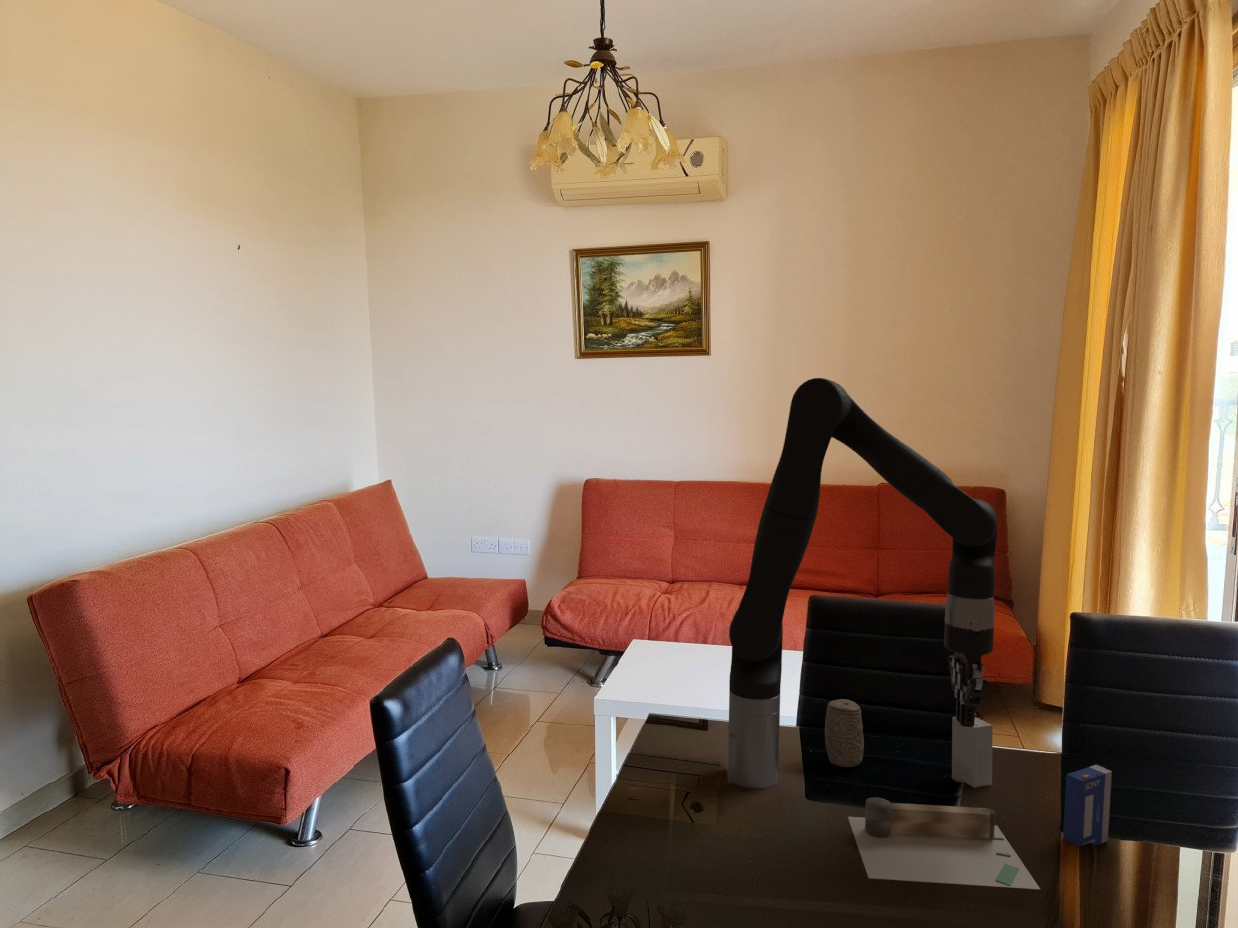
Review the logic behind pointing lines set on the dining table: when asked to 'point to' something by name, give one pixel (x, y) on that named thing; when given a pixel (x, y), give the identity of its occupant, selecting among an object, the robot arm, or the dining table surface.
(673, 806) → the dining table surface
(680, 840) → the dining table surface
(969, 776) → the skincare box
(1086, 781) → the walkman
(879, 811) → the pointer lever
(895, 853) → the dial plate
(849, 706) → the carving
